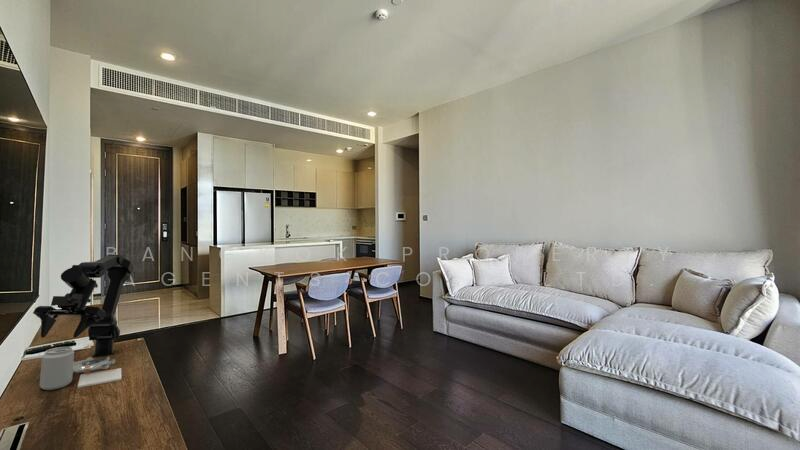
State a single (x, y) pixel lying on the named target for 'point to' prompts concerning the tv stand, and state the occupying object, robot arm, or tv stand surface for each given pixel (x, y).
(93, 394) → the tv stand surface
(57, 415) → the tv stand surface
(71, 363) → the can
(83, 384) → the pad
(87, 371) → the sprocket
